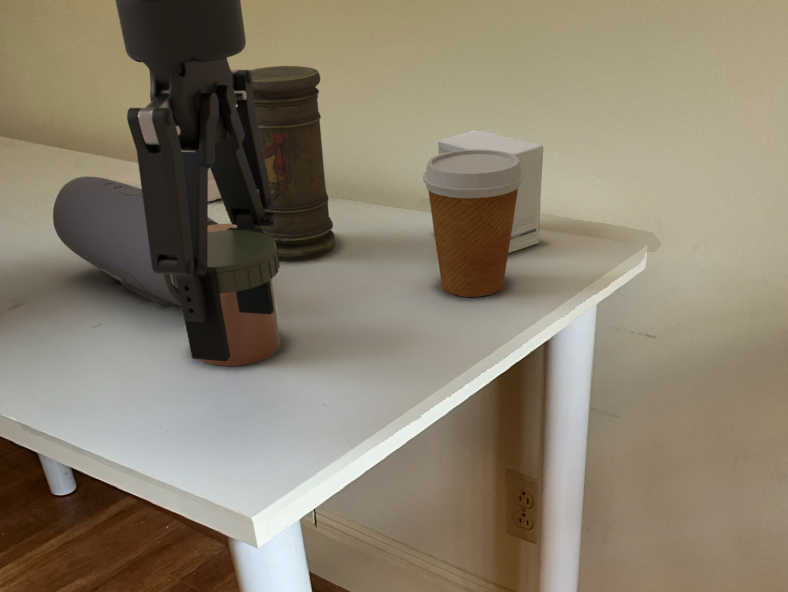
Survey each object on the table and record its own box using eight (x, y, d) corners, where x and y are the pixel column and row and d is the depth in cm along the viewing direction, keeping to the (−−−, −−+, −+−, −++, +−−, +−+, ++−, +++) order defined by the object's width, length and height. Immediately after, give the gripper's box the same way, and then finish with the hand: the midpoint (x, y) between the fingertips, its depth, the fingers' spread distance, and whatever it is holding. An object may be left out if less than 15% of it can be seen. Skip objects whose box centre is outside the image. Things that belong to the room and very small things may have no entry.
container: (310, 229, 106) (293, 61, 95) (351, 248, 100) (338, 71, 89) (243, 247, 102) (217, 73, 91) (282, 267, 96) (259, 84, 85)
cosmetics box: (437, 234, 103) (435, 138, 96) (479, 222, 106) (480, 127, 99) (497, 257, 96) (500, 155, 89) (541, 243, 99) (546, 143, 92)
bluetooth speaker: (252, 305, 88) (237, 202, 82) (171, 334, 83) (148, 227, 77) (138, 253, 101) (118, 161, 95) (62, 276, 97) (36, 180, 91)
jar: (181, 362, 78) (157, 249, 72) (217, 327, 84) (198, 219, 78) (261, 369, 76) (243, 253, 70) (292, 333, 82) (278, 223, 76)
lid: (295, 257, 67) (292, 232, 66) (253, 297, 61) (249, 270, 60) (199, 252, 69) (195, 227, 68) (149, 290, 63) (143, 263, 62)
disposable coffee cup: (495, 310, 85) (498, 179, 77) (408, 294, 89) (404, 169, 81) (534, 276, 91) (540, 153, 84) (451, 263, 95) (450, 144, 88)
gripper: (150, 3, 45) (224, 401, 59) (293, -35, 61) (325, 286, 75) (22, 6, 47) (123, 392, 61) (194, -32, 63) (243, 281, 76)
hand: (235, 333), depth 68 cm, fingers closed on lid, 8 cm apart
